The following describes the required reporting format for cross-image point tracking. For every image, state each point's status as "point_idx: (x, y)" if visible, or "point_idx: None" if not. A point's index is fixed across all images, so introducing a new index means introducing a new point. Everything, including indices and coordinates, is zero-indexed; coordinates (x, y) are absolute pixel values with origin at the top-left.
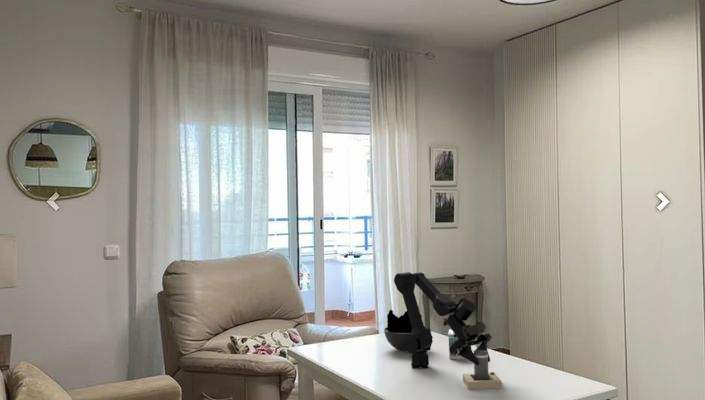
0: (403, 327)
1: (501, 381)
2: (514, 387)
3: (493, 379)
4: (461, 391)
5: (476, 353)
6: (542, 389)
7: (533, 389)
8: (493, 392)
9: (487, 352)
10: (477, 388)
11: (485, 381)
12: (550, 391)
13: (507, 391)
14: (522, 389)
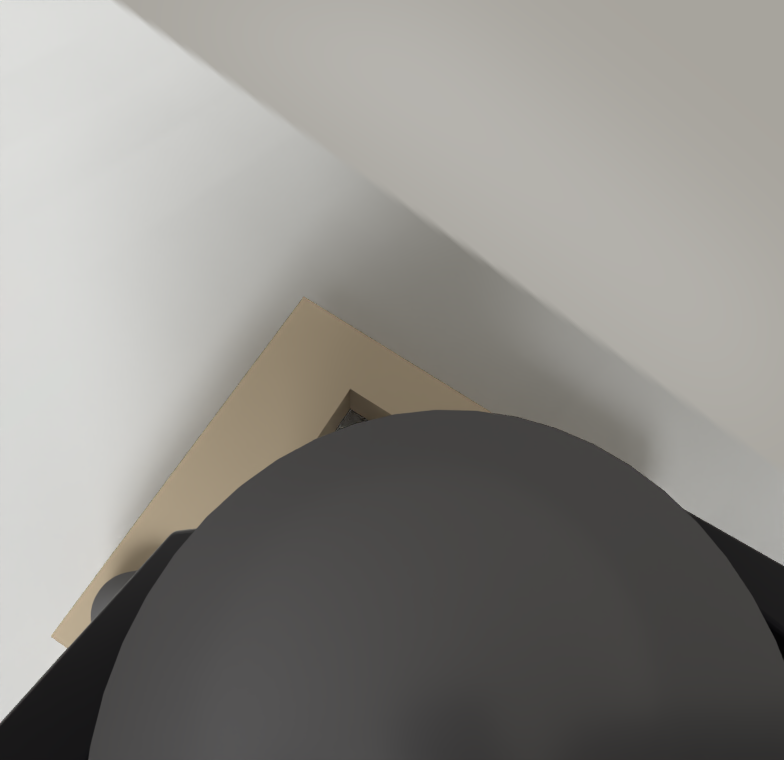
0: None
1: (305, 298)
2: (182, 266)
3: (331, 405)
4: (745, 519)
5: (758, 680)
6: (29, 72)
7: (94, 120)
8: (480, 292)
9: (292, 459)
10: None
11: (479, 409)
12: (31, 4)
13: (344, 230)
14: (176, 181)
